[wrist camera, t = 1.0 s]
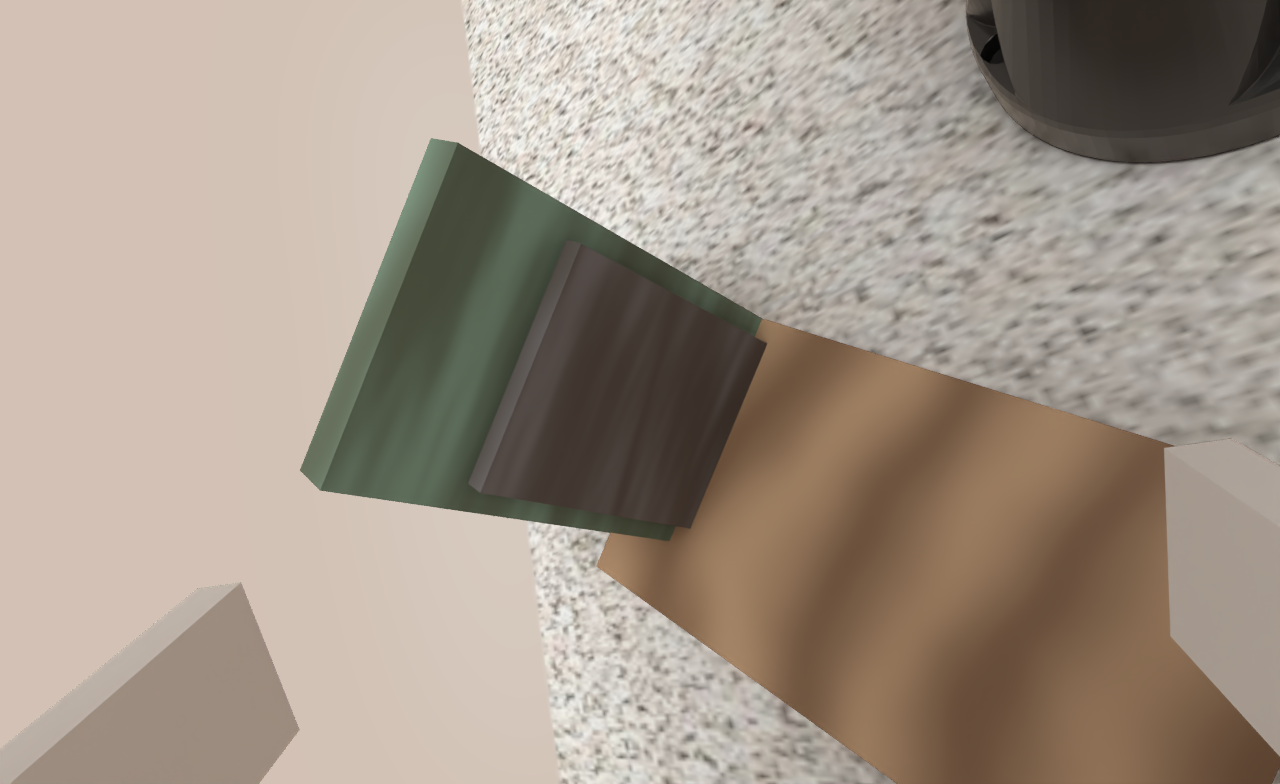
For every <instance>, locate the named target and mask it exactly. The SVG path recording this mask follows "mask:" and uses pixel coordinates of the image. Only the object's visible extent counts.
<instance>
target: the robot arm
mask: <svg viewBox="0 0 1280 784" xmlns="http://www.w3.org/2000/svg"><path fill="white" fill-rule="evenodd" d="M966 21H967V30H968V35H969V39H970V44H971V47H972V50H973V53H974V56H975V59H976V61H977V64H978V66H979V68H980V70H981V72H982V73H983V75H984V77H985V79H986V80H987V82H988V84H989V86H990V87H991V89H992V91H993V93H994V94H995V96H996V98H997V99H998V101H999V103H1000V104H1001V105H1002V107H1003V108H1004V109H1005V111H1006V112H1007V113H1008V114H1009V115H1010V116H1011V117H1012V118H1013V119H1014V120H1015V121H1016V122H1017V123H1018V124H1019V125H1021V126H1022V127H1023V128H1024V129H1026V130H1027V131H1028V132H1030V133H1031V134H1033V135H1034V136H1036V137H1038V138H1040V139H1041V140H1043V141H1045V142H1047V143H1049V144H1051V145H1053V146H1056V147H1058V148H1061V149H1063V150H1066V151H1069V152H1072V153H1076V154H1079V155H1083V156H1087V157H1092V158H1097V159H1104V160H1112V161H1124V162H1160V161H1174V160H1182V159H1190V158H1196V157H1202V156H1207V155H1212V154H1217V153H1221V152H1225V151H1230V150H1234V149H1237V148H1241V147H1244V146H1248V145H1251V144H1254V143H1257V142H1260V141H1263V140H1266V139H1269V138H1272V137H1275V136H1277V135H1280V0H966ZM1164 462H1165V492H1166V521H1167V550H1168V580H1169V609H1170V636H1171V637H1172V638H1173V640H1174V641H1175V642H1176V643H1177V644H1178V645H1179V646H1180V647H1181V648H1182V649H1183V651H1184V652H1185V653H1186V654H1187V655H1188V656H1189V657H1190V658H1191V659H1192V660H1193V662H1194V663H1195V664H1196V665H1197V666H1198V667H1199V668H1200V669H1201V670H1202V672H1203V673H1204V674H1205V675H1206V676H1207V677H1208V678H1209V679H1210V680H1211V681H1212V683H1213V684H1214V685H1215V686H1216V687H1217V688H1218V689H1219V690H1220V691H1221V692H1222V694H1223V695H1224V696H1225V697H1226V698H1227V699H1228V700H1229V701H1230V702H1231V703H1232V705H1233V706H1234V707H1235V708H1236V709H1237V710H1238V711H1239V712H1240V713H1241V714H1242V716H1243V717H1244V718H1245V719H1246V720H1247V721H1248V722H1249V723H1250V724H1251V725H1252V727H1253V728H1254V729H1255V730H1256V731H1257V732H1258V733H1259V734H1260V735H1261V736H1262V738H1263V739H1264V740H1265V741H1266V742H1267V743H1268V744H1269V745H1270V746H1271V747H1272V749H1273V750H1274V751H1275V752H1276V753H1277V754H1278V755H1279V756H1280V466H1279V465H1277V464H1275V463H1274V462H1272V461H1270V460H1268V459H1267V458H1265V457H1263V456H1261V455H1260V454H1258V453H1256V452H1254V451H1253V450H1251V449H1249V448H1247V447H1246V446H1244V445H1242V444H1240V443H1239V442H1237V441H1235V440H1233V439H1231V438H1230V439H1223V440H1216V441H1209V442H1202V443H1195V444H1188V445H1181V446H1175V447H1168V448H1164ZM298 731H299V727H298V725H297V722H296V720H295V717H294V715H293V712H292V710H291V707H290V705H289V702H288V700H287V697H286V694H285V692H284V690H283V687H282V684H281V682H280V679H279V677H278V674H277V672H276V669H275V667H274V664H273V662H272V659H271V657H270V654H269V652H268V649H267V647H266V644H265V642H264V639H263V637H262V634H261V632H260V629H259V626H258V624H257V622H256V619H255V616H254V614H253V612H252V609H251V606H250V604H249V601H248V599H247V596H246V594H245V591H244V589H243V586H242V584H241V583H233V584H226V585H220V586H212V587H205V588H199V589H197V590H195V591H194V592H193V593H192V594H191V595H189V596H188V597H187V598H186V599H184V600H183V601H182V602H181V603H179V604H178V605H177V606H176V607H174V608H173V609H172V610H171V611H170V612H168V613H167V614H166V615H165V616H163V617H162V618H161V619H160V620H158V621H157V622H156V623H155V624H153V625H152V626H151V627H150V628H149V629H148V630H146V631H145V632H144V633H142V634H141V635H140V636H139V637H137V638H136V639H135V640H134V641H133V642H131V643H130V644H129V645H128V646H126V647H125V648H124V649H123V650H121V651H120V652H119V653H118V654H117V655H115V656H114V657H113V658H112V659H110V660H109V661H108V662H107V663H105V664H104V665H103V666H102V667H100V668H99V669H98V670H97V671H96V672H94V673H93V674H92V675H91V676H89V677H88V678H87V679H86V680H85V681H83V682H82V683H81V684H80V685H78V686H77V687H76V688H75V689H73V690H72V691H71V692H70V693H68V694H67V695H66V696H65V697H64V698H62V699H61V700H60V701H59V702H57V703H56V704H55V705H54V706H52V707H51V708H50V709H49V710H47V711H46V712H45V713H44V714H43V715H41V716H40V717H39V718H38V719H36V720H35V721H34V722H33V723H31V724H30V725H29V726H28V727H27V728H25V729H24V730H23V731H22V732H20V733H19V734H18V735H17V736H15V737H14V738H13V739H12V740H11V741H9V742H8V743H7V744H6V745H4V746H3V747H2V748H1V749H0V784H259V783H260V781H261V780H262V779H263V778H264V776H265V775H266V774H267V772H268V771H269V770H270V768H271V767H272V766H273V764H274V763H275V762H276V760H277V759H278V758H279V756H280V755H281V754H282V752H283V751H284V750H285V748H286V747H287V746H288V744H289V743H290V742H291V740H292V739H293V738H294V736H295V735H296V734H297V732H298Z"/></svg>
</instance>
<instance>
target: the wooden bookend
mask: <svg viewBox="0 0 1280 784" xmlns="http://www.w3.org/2000/svg"><path fill="white" fill-rule="evenodd" d="M1168 447H1175V446H1173V445H1170V444H1167V443H1163V442H1160V441H1157V440H1154V439H1151V438H1147V437H1144V436H1141V435H1138V434H1134V433H1131V432H1128V431H1125V430H1121V429H1118V428H1115V427H1112V426H1108V425H1105V424H1102V423H1099V422H1095V421H1092V420H1089V419H1086V418H1082V417H1079V416H1076V415H1073V414H1070V413H1066V412H1063V411H1060V410H1057V409H1053V408H1050V407H1047V406H1044V405H1040V404H1037V403H1034V402H1031V401H1027V400H1024V399H1021V398H1018V397H1014V396H1011V395H1008V394H1005V393H1001V392H998V391H995V390H992V389H989V388H985V387H982V386H979V385H976V384H972V383H969V382H966V381H963V380H959V379H956V378H953V377H950V376H946V375H943V374H940V373H937V372H933V371H930V370H927V369H924V368H920V367H917V366H914V365H911V364H908V363H904V362H901V361H898V360H895V359H891V358H888V357H885V356H882V355H878V354H875V353H872V352H869V351H865V350H862V349H859V348H856V347H852V346H849V345H846V344H843V343H839V342H836V341H833V340H830V339H827V338H823V337H820V336H817V335H814V334H810V333H807V332H804V331H801V330H797V329H794V328H791V327H788V326H784V325H781V324H778V323H775V322H771V321H768V320H765V319H762V318H760V317H758V316H757V315H755V314H753V313H752V312H750V311H748V310H746V309H745V308H743V307H741V306H739V305H738V304H736V303H734V302H733V301H731V300H729V299H727V298H726V297H724V296H722V295H720V294H719V293H717V292H715V291H713V290H712V289H710V288H708V287H707V286H705V285H703V284H701V283H700V282H698V281H696V280H694V279H693V278H691V277H689V276H688V275H686V274H684V273H682V272H681V271H679V270H677V269H675V268H674V267H672V266H670V265H668V264H667V263H665V262H663V261H662V260H660V259H658V258H656V257H655V256H653V255H651V254H649V253H648V252H646V251H644V250H643V249H641V248H639V247H637V246H636V245H634V244H632V243H630V242H629V241H627V240H625V239H623V238H622V237H620V236H618V235H617V234H615V233H613V232H611V231H610V230H608V229H606V228H604V227H603V226H601V225H599V224H598V223H596V222H594V221H592V220H591V219H589V218H587V217H585V216H584V215H582V214H580V213H578V212H577V211H575V210H573V209H572V208H570V207H568V206H566V205H565V204H563V203H561V202H559V201H558V200H556V199H554V198H553V197H551V196H549V195H547V194H546V193H544V192H542V191H540V190H539V189H537V188H535V187H533V186H532V185H530V184H528V183H527V182H525V181H523V180H521V179H520V178H518V177H516V176H514V175H513V174H511V173H509V172H507V171H506V170H504V169H502V168H501V167H499V166H497V165H495V164H494V163H492V162H490V161H488V160H487V159H485V158H483V157H482V156H480V155H478V154H476V153H475V152H473V151H471V150H469V149H468V148H466V147H464V146H462V145H461V144H459V143H455V142H450V141H444V140H438V139H432V138H431V140H430V142H429V145H428V147H427V150H426V152H425V155H424V157H423V160H422V163H421V165H420V167H419V170H418V173H417V175H416V178H415V180H414V183H413V185H412V188H411V190H410V193H409V195H408V198H407V201H406V203H405V206H404V208H403V211H402V213H401V216H400V218H399V221H398V223H397V226H396V228H395V231H394V233H393V236H392V238H391V241H390V244H389V246H388V249H387V251H386V254H385V256H384V259H383V261H382V264H381V266H380V269H379V272H378V274H377V277H376V279H375V282H374V285H373V287H372V289H371V292H370V294H369V297H368V299H367V302H366V304H365V307H364V310H363V312H362V315H361V317H360V320H359V322H358V325H357V327H356V330H355V332H354V335H353V337H352V340H351V343H350V345H349V348H348V350H347V353H346V355H345V358H344V361H343V363H342V365H341V368H340V370H339V373H338V376H337V378H336V381H335V383H334V386H333V388H332V391H331V393H330V396H329V398H328V401H327V403H326V406H325V408H324V411H323V413H322V416H321V419H320V421H319V424H318V426H317V429H316V431H315V434H314V436H313V439H312V441H311V444H310V446H309V449H308V452H307V454H306V457H305V459H304V462H303V464H302V467H301V469H300V471H301V472H302V473H303V474H304V475H305V476H306V477H307V478H308V479H309V480H310V481H311V482H312V483H313V484H314V485H315V486H316V487H317V488H318V489H319V490H321V491H328V492H334V493H341V494H348V495H355V496H362V497H369V498H377V499H383V500H389V501H397V502H403V503H410V504H417V505H424V506H431V507H438V508H444V509H451V510H458V511H465V512H472V513H480V514H486V515H493V516H500V517H506V518H513V519H520V520H527V521H534V522H540V523H547V524H554V525H561V526H568V527H575V528H582V529H588V530H595V531H602V532H609V533H610V535H609V537H608V540H607V542H606V545H605V547H604V549H603V552H602V554H601V557H600V559H599V561H598V564H597V567H598V568H600V569H601V570H602V571H604V572H605V573H606V574H608V575H609V576H611V577H612V578H613V579H615V580H616V581H618V582H619V583H620V584H622V585H623V586H624V587H626V588H627V589H629V590H630V591H631V592H633V593H634V594H636V595H637V596H638V597H640V598H641V599H642V600H644V601H645V602H647V603H648V604H649V605H651V606H652V607H653V608H655V609H656V610H658V611H659V612H660V613H662V614H663V615H665V616H666V617H667V618H669V619H670V620H671V621H673V622H674V623H676V624H677V625H678V626H680V627H681V628H683V629H684V630H685V631H687V632H688V633H689V634H691V635H692V636H694V637H695V638H696V639H698V640H699V641H701V642H702V643H703V644H705V645H706V646H707V647H709V648H710V649H712V650H713V651H714V652H716V653H717V654H719V655H720V656H721V657H723V658H724V659H725V660H727V661H728V662H730V663H731V664H732V665H734V666H735V667H736V668H738V669H739V670H741V671H742V672H743V673H745V674H746V675H748V676H749V677H750V678H752V679H753V680H754V681H756V682H757V683H759V684H760V685H761V686H763V687H764V688H766V689H767V690H768V691H770V692H771V693H772V694H774V695H775V696H777V697H778V698H779V699H781V700H782V701H784V702H785V703H786V704H788V705H789V706H790V707H792V708H793V709H795V710H796V711H797V712H799V713H800V714H801V715H803V716H804V717H806V718H807V719H808V720H810V721H811V722H813V723H814V724H815V725H817V726H818V727H819V728H821V729H822V730H824V731H825V732H826V733H828V734H829V735H831V736H832V737H833V738H835V739H836V740H837V741H839V742H840V743H842V744H843V745H844V746H846V747H847V748H849V749H850V750H851V751H853V752H854V753H855V754H857V755H858V756H860V757H861V758H862V759H864V760H865V761H867V762H868V763H869V764H871V765H872V766H873V767H875V768H876V769H878V770H879V771H880V772H882V773H883V774H884V775H886V776H887V777H889V778H890V779H891V780H893V781H894V782H896V783H897V784H1272V782H1273V780H1274V778H1275V776H1276V773H1277V771H1278V769H1279V767H1280V756H1279V755H1278V754H1277V753H1276V752H1275V751H1274V750H1273V749H1272V747H1271V746H1270V745H1269V744H1268V743H1267V742H1266V741H1265V740H1264V739H1263V738H1262V736H1261V735H1260V734H1259V733H1258V732H1257V731H1256V730H1255V729H1254V728H1253V727H1252V725H1251V724H1250V723H1249V722H1248V721H1247V720H1246V719H1245V718H1244V717H1243V716H1242V714H1241V713H1240V712H1239V711H1238V710H1237V709H1236V708H1235V707H1234V706H1233V705H1232V703H1231V702H1230V701H1229V700H1228V699H1227V698H1226V697H1225V696H1224V695H1223V694H1222V692H1221V691H1220V690H1219V689H1218V688H1217V687H1216V686H1215V685H1214V684H1213V683H1212V681H1211V680H1210V679H1209V678H1208V677H1207V676H1206V675H1205V674H1204V673H1203V672H1202V670H1201V669H1200V668H1199V667H1198V666H1197V665H1196V664H1195V663H1194V662H1193V660H1192V659H1191V658H1190V657H1189V656H1188V655H1187V654H1186V653H1185V652H1184V651H1183V649H1182V648H1181V647H1180V646H1179V645H1178V644H1177V643H1176V642H1175V641H1174V640H1173V638H1172V637H1171V636H1170V609H1169V580H1168V550H1167V521H1166V492H1165V462H1164V448H1168Z"/></svg>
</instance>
